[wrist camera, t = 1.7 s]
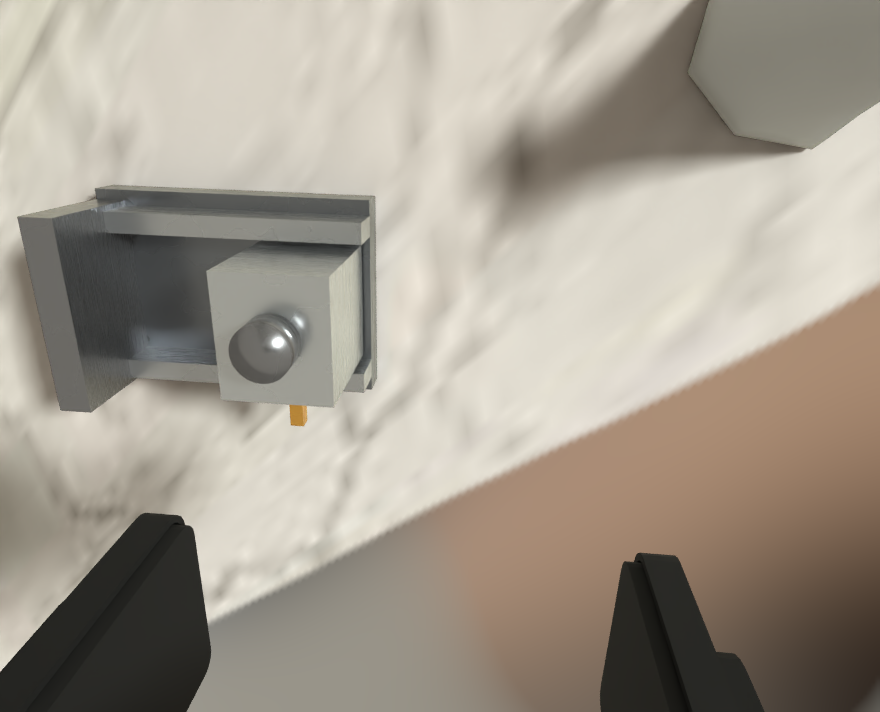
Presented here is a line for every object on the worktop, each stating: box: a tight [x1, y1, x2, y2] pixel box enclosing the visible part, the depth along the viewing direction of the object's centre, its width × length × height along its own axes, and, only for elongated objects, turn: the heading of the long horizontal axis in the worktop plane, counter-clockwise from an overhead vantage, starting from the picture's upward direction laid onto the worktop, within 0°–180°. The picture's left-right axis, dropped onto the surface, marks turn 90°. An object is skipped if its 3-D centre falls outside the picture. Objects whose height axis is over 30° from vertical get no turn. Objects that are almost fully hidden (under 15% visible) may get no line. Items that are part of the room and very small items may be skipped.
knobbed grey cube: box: [206, 240, 363, 426], centre depth 23 cm, size 4×6×6 cm, turn 178°
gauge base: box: [17, 185, 377, 412], centre depth 24 cm, size 11×8×6 cm
